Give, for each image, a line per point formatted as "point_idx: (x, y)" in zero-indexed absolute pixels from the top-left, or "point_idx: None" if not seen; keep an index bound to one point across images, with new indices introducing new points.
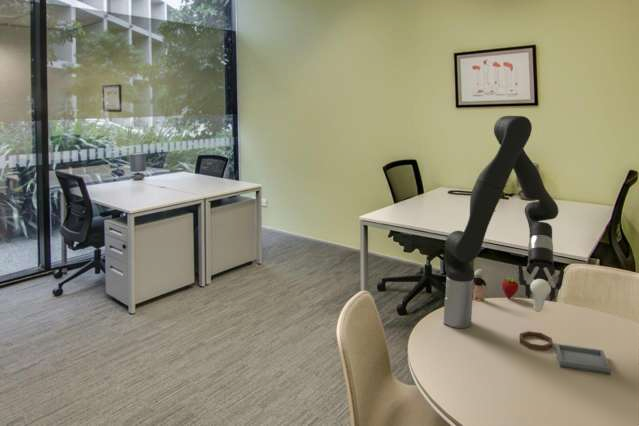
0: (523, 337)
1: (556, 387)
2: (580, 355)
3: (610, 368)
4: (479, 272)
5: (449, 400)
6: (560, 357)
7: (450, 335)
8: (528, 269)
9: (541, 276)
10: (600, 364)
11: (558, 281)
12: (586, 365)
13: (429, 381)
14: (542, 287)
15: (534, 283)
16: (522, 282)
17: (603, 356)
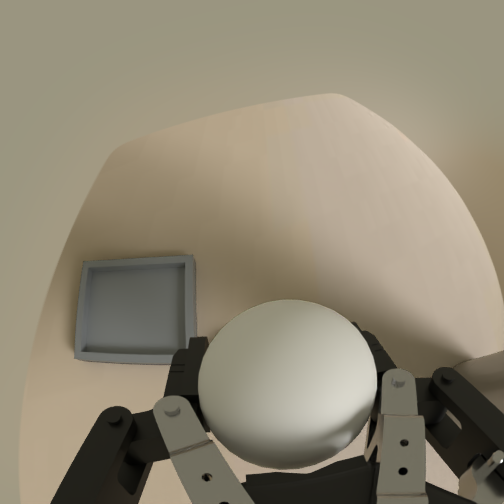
0: None
1: (213, 180)
2: (133, 331)
3: (84, 262)
4: None
5: (366, 115)
6: (189, 274)
7: (459, 315)
8: (460, 497)
9: (302, 481)
10: (97, 297)
11: (116, 448)
12: (131, 259)
13: (409, 145)
14: (275, 303)
15: (354, 334)
16: (433, 377)
17: (80, 320)
